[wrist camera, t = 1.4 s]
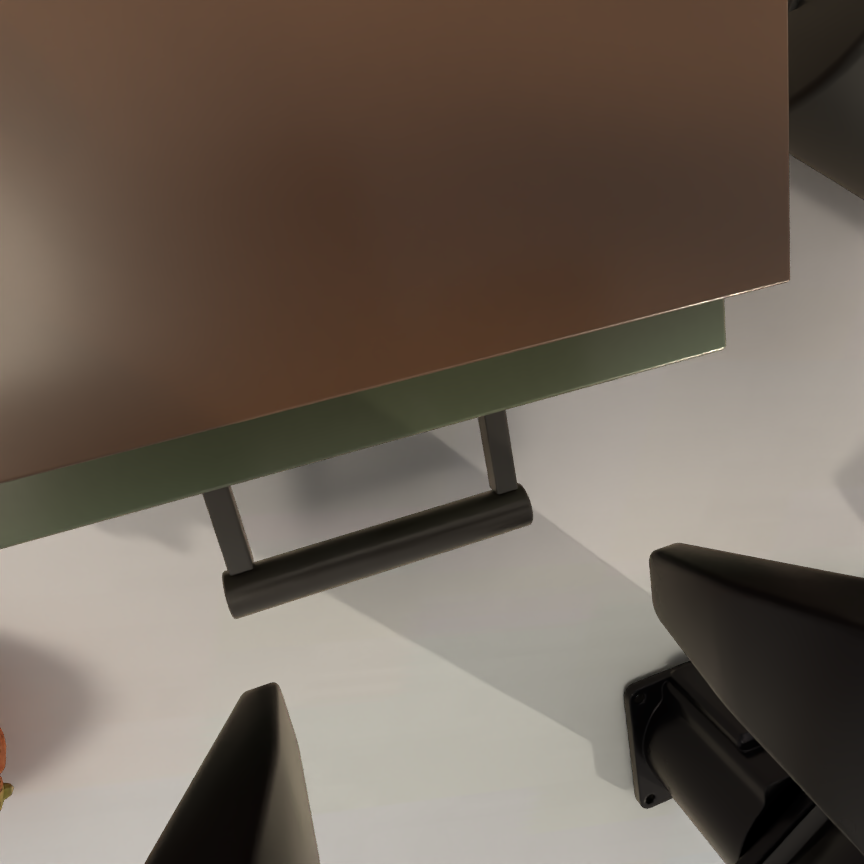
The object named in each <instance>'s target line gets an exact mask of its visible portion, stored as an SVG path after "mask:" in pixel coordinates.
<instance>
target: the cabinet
mask: <svg viewBox="0 0 864 864" xmlns="http://www.w3.org/2000/svg"><path fill="white" fill-rule="evenodd" d="M789 280H790V218H789V94H788V0H0V484H1V483H5V482H9V481H13V480H17V479H20V478H24V477H28V476H32V475H36V474H40V473H44V472H48V471H52V470H56V469H60V468H63V467H67V466H71V465H75V464H79V463H83V462H87V461H91V460H95V459H99V458H102V457H106V456H110V455H114V454H118V453H122V452H126V451H130V450H134V449H138V448H142V447H145V446H149V445H153V444H157V443H161V442H165V441H169V440H173V439H177V438H181V437H185V436H188V435H192V434H196V433H200V432H204V431H208V430H212V429H216V428H220V427H224V426H227V425H231V424H235V423H239V422H243V421H247V420H251V419H255V418H259V417H263V416H267V415H270V414H274V413H278V412H282V411H286V410H290V409H294V408H298V407H302V406H306V405H310V404H313V403H317V402H321V401H325V400H329V399H333V398H337V397H341V396H345V395H349V394H352V393H356V392H360V391H364V390H368V389H372V388H376V387H380V386H384V385H388V384H392V383H395V382H399V381H403V380H407V379H411V378H415V377H419V376H423V375H427V374H431V373H434V372H438V371H442V370H446V369H450V368H454V367H458V366H462V365H466V364H470V363H474V362H477V361H481V360H485V359H489V358H493V357H497V356H501V355H505V354H509V353H513V352H517V351H520V350H524V349H528V348H532V347H536V346H540V345H544V344H548V343H552V342H556V341H559V340H563V339H567V338H571V337H575V336H579V335H583V334H587V333H591V332H595V331H599V330H602V329H606V328H610V327H614V326H618V325H622V324H626V323H630V322H634V321H638V320H642V319H645V318H649V317H653V316H657V315H661V314H665V313H669V312H673V311H677V310H681V309H684V308H688V307H692V306H696V305H700V304H704V303H708V302H712V301H716V300H720V299H724V298H727V297H731V296H735V295H739V294H743V293H747V292H751V291H755V290H759V289H763V288H766V287H770V286H774V285H778V284H782V283H786V282H788V281H789Z"/></svg>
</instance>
